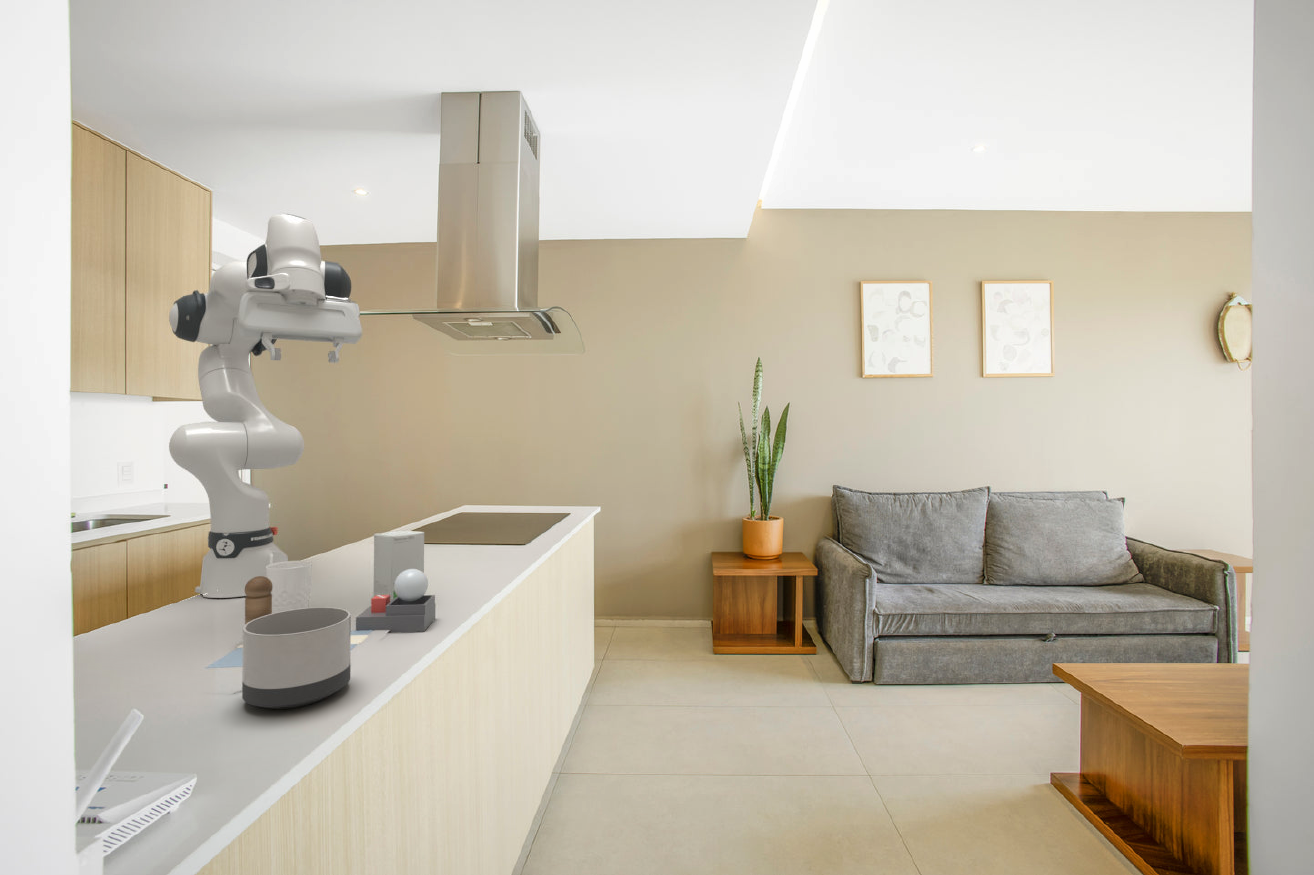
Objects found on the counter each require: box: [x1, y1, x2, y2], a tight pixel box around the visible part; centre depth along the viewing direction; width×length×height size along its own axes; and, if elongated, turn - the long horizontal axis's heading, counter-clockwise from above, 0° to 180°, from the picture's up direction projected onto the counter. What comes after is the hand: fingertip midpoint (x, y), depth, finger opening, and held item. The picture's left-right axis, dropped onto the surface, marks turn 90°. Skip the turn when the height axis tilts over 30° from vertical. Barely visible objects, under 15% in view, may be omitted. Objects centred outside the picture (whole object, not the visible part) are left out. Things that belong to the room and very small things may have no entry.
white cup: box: [266, 560, 313, 614], centre depth 120 cm, size 8×8×10 cm
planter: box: [241, 606, 352, 710], centre depth 83 cm, size 13×13×10 cm
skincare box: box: [372, 530, 425, 602], centre depth 126 cm, size 8×7×16 cm
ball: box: [394, 569, 429, 601], centre depth 113 cm, size 6×6×6 cm
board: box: [204, 630, 374, 669], centre depth 100 cm, size 16×20×1 cm
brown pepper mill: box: [244, 576, 273, 625], centre depth 102 cm, size 4×4×11 cm
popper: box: [355, 594, 436, 634], centre depth 113 cm, size 8×12×6 cm, turn 97°
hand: (305, 360), depth 111 cm, fingers open, 8 cm apart
